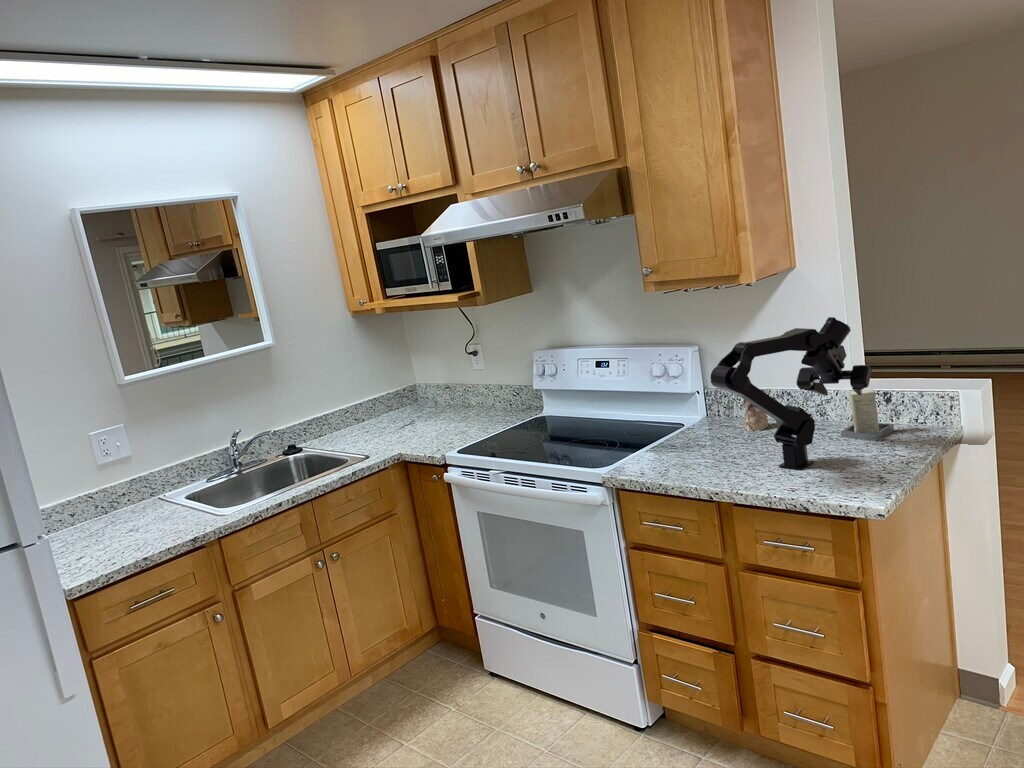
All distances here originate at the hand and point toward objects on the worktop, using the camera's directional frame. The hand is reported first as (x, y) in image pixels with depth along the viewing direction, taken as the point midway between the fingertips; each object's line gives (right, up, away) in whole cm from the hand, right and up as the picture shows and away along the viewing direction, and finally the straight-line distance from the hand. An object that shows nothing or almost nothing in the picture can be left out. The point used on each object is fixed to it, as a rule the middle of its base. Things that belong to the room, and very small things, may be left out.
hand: (843, 394), depth 211 cm
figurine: (-14, -11, +31) cm, 36 cm away
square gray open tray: (+9, -11, +6) cm, 16 cm away
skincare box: (+9, -11, +6) cm, 16 cm away
